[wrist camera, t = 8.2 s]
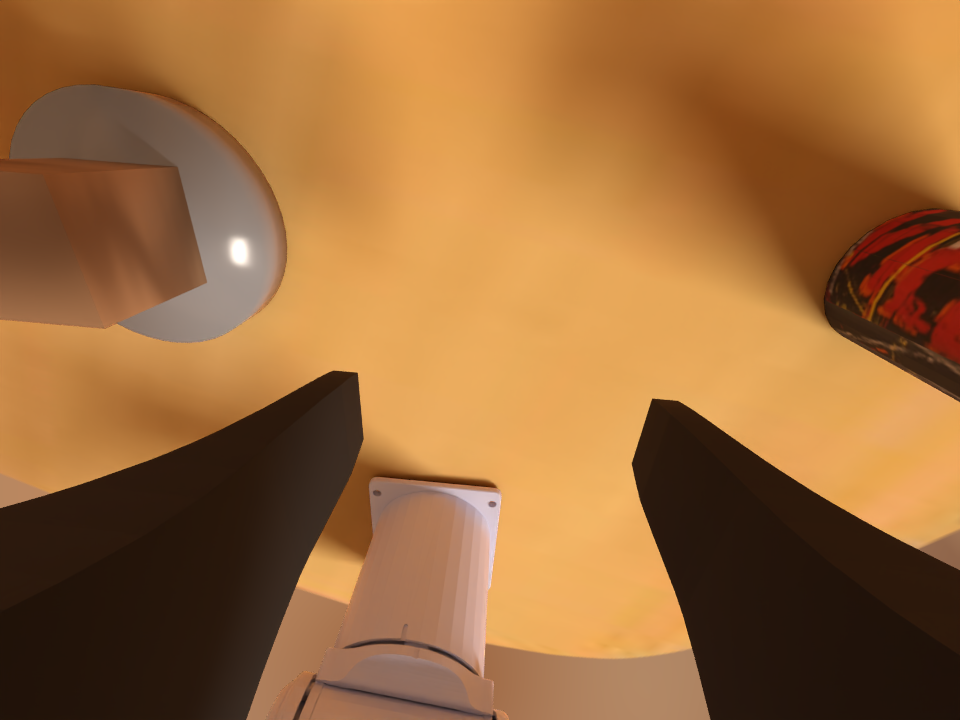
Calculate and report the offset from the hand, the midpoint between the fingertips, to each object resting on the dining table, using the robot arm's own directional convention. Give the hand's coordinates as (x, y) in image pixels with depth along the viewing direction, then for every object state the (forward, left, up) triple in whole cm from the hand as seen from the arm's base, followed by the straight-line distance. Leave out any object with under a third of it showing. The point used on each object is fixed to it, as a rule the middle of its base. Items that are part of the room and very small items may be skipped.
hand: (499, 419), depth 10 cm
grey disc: (+2, +15, -10) cm, 18 cm away
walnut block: (+2, +15, -8) cm, 17 cm away
